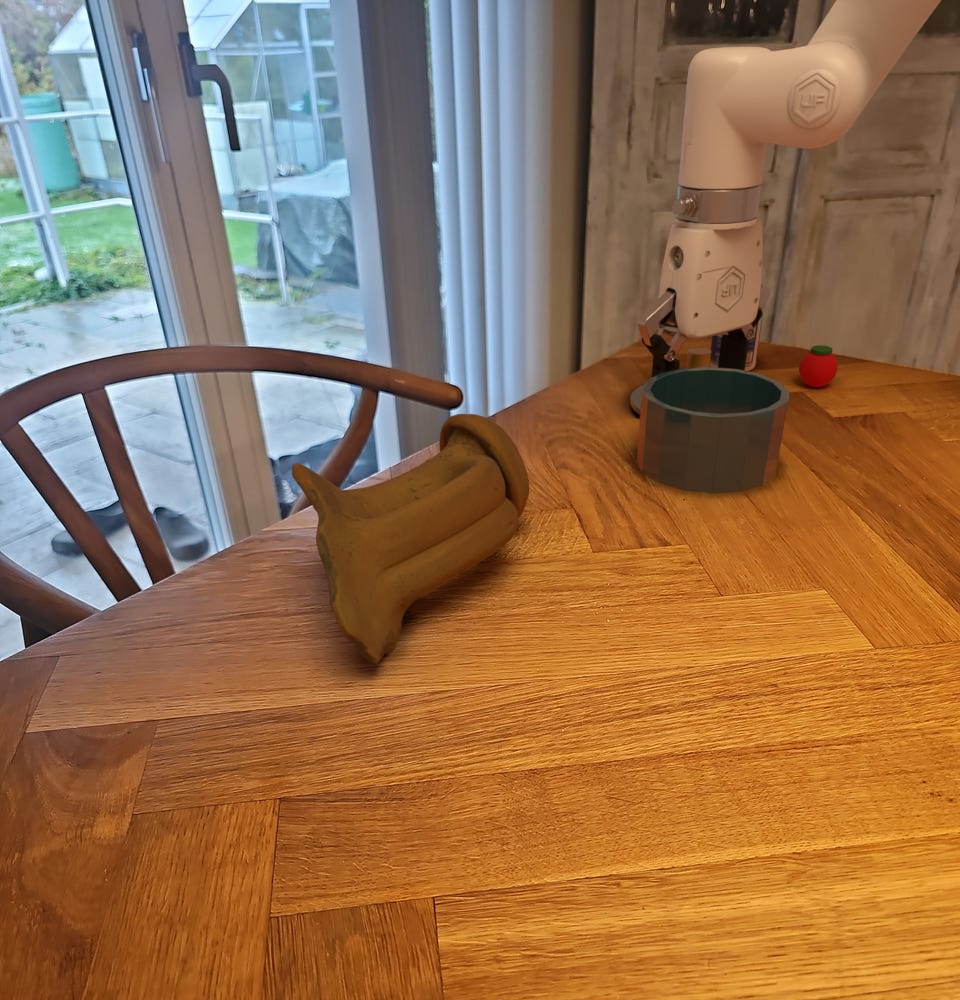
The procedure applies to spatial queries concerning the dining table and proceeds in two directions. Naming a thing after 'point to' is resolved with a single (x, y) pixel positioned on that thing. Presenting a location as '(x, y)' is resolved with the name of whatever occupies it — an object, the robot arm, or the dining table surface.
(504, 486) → the brown fluted pedestal
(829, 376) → the toy tomato
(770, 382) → the pot
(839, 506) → the dining table surface
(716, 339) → the pill bottle
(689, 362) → the lid
